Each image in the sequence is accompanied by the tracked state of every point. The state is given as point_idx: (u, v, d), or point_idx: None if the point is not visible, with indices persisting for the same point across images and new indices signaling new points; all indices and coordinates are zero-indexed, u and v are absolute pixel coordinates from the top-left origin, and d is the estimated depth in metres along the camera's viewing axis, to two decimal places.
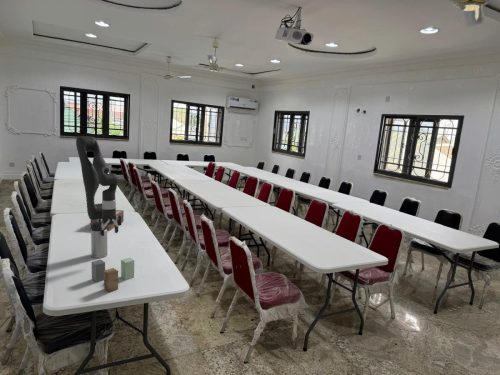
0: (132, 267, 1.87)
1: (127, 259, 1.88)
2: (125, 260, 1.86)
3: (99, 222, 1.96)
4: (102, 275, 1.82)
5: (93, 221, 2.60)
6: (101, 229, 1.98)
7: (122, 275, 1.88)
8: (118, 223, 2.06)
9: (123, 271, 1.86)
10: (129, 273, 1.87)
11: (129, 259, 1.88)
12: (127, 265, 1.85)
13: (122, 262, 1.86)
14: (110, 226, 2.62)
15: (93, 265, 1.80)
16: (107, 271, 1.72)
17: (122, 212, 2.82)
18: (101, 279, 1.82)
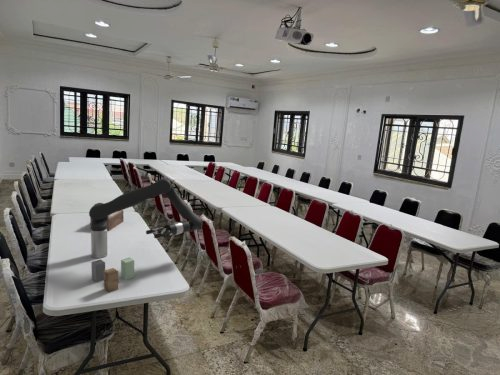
0: (132, 267, 1.87)
1: (127, 259, 1.88)
2: (125, 260, 1.86)
3: (169, 236, 1.98)
4: (102, 275, 1.82)
5: None
6: (161, 236, 1.95)
7: (122, 275, 1.88)
8: None
9: (123, 271, 1.86)
10: (129, 273, 1.87)
11: (129, 259, 1.88)
12: (127, 265, 1.85)
13: (122, 262, 1.86)
14: (110, 226, 2.62)
15: (93, 265, 1.80)
16: (107, 271, 1.72)
17: (122, 212, 2.82)
18: (101, 279, 1.82)
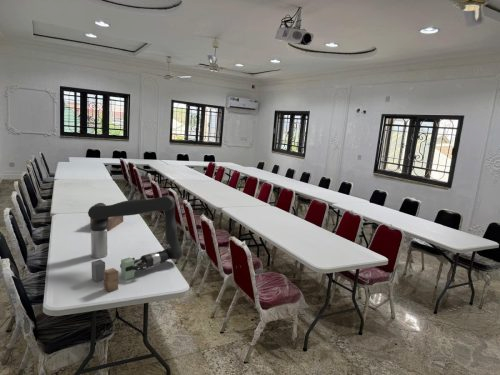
0: None
1: (127, 259, 1.88)
2: (125, 260, 1.86)
3: (142, 269, 1.88)
4: (102, 275, 1.82)
5: None
6: None
7: (122, 275, 1.88)
8: None
9: (123, 271, 1.86)
10: (130, 273, 1.87)
11: (129, 259, 1.88)
12: (127, 265, 1.85)
13: (122, 262, 1.86)
14: (110, 226, 2.62)
15: (93, 265, 1.80)
16: (107, 271, 1.72)
17: None
18: (101, 279, 1.82)
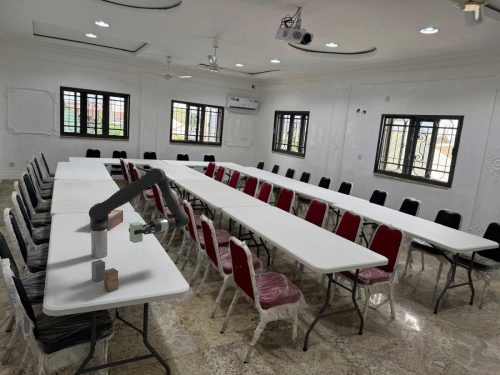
0: None
1: (135, 223, 1.88)
2: (133, 223, 1.86)
3: None
4: (102, 275, 1.82)
5: None
6: (142, 233, 1.87)
7: (130, 239, 1.88)
8: None
9: (131, 234, 1.86)
10: (138, 237, 1.87)
11: (137, 223, 1.88)
12: (135, 228, 1.85)
13: (130, 225, 1.86)
14: (110, 226, 2.62)
15: (93, 265, 1.80)
16: (107, 271, 1.72)
17: (122, 212, 2.82)
18: (101, 279, 1.82)
